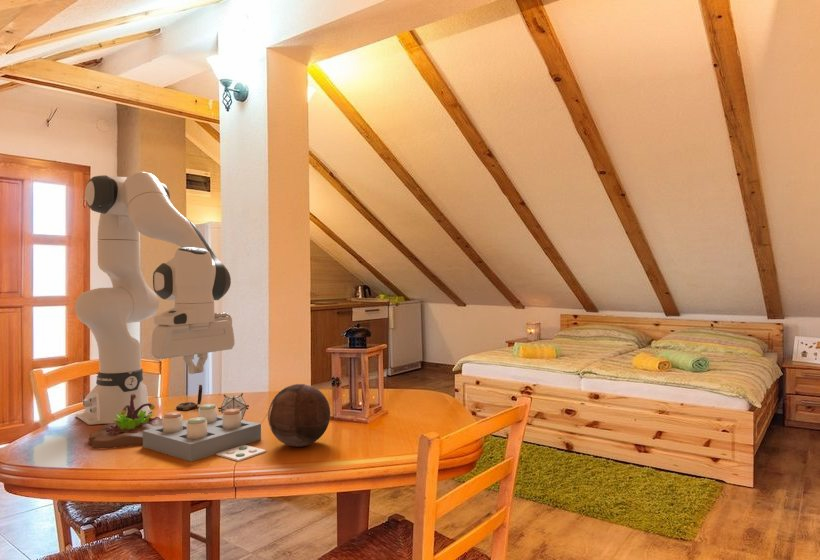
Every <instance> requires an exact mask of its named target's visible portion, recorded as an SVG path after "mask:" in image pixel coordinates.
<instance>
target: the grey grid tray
mask: <svg viewBox="0 0 820 560" xmlns="http://www.w3.org/2000/svg"><path fill="white" fill-rule="evenodd" d="M197 417H198V416H197ZM197 417H195V418H197ZM189 419H190V418H188V419H185V420H184V419H183V430H182V431H178V432H174V433H170V434H167V433H164V432H163V426H160V427H156V428H152V429H148V430H144V431H143V445H142V448H145V449H149V450H151V451H154V452H158V453H161V454H165V455H167V454H168V456H171V457H174V458H177V459H180V458H181V459H180V460H184V461H188V462H195V461H198V460H201V459H204V458H206V457H207V458H208V457H210V456H213V455H217V453H220V452H223V451H226V450H229V449H232V448H236V447H239V446H242V445H248V444H252V443H254V442H258V441H261V440H262V424H261V423H259V422H253V421H249V420H244V419H242V420H241V422H242V427H239V428H236V429H232V430H227V429H223V426H222V414H217V421H216V422H212V423H208V424H207V437H204V438H201V439H197V440H194V441H193V440H189V439H187V424H186V423H187V422H188V420H189Z"/></svg>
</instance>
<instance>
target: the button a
mask: <svg viewBox="0 0 820 560" xmlns="http://www.w3.org/2000/svg"><path fill="white" fill-rule="evenodd" d="M162 419H163V432H164V433H167V434H170V433H174V432H178V431H182V430H183V421H184V417H183V414H182V412H181V411H171V412H166V413H164V414H163V416H162Z"/></svg>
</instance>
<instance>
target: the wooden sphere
mask: <svg viewBox="0 0 820 560" xmlns="http://www.w3.org/2000/svg"><path fill="white" fill-rule="evenodd" d="M267 420H268V426H269V428H270V430H271V432H272V435H274V437H275V438H276V439H277V440H278V441H280V442H281V443H282V444H284V445H287V446H290V447H294V448H295V447H296V448H298V447H299V448H300V447H305V446H309V445H312V444H313V443H315V442H317V441H318V440H320V439H321V437H322V436H323V435H324V434H325V433H326V431H327V429H328V427H329V424H330V420H331V407H330V405H329V401H328V400H327V397H326V396H325V395H324V393H323V392H322V391H320V389H318V388H316V387H315V386H312V385H310V384H305V383H296V384H292V385H291V384H290V385H289V386H286V387H283V389H281V390H280V391H279V392H278V393H277V394H276V395H275V396H274V397H273V399H272V400H271V402H270V405H269V408H268V413H267Z"/></svg>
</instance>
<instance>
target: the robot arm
mask: <svg viewBox="0 0 820 560" xmlns="http://www.w3.org/2000/svg"><path fill="white" fill-rule="evenodd" d="M84 191H85V192H84V195H85V196H84V197H85V200H86V201H85V202H86V205H87V206H88V208H89V209H90V210H91V211H92V212H95V213H99V220H98V224H97V225H98V226H97V266H98V267H99V269H100V270H101V271H102V272H103V273H106V275H107V276H108V277H109V279H110V281H111V283H112V285H111V286H112V287H97V288H93V289H90V290H87V291H84V292H82V293H80V294H79V295H78V297H77V298H76V300H75V305H74V312H75V315H76V317H77V319H78V320H79V321H80V322H81V324H84V325H85V326H86V327H87V328H88V329H89V330H90V331H91V333H92V335H93V336H94V338H95V341H96V345H97V348H98V365H99V369H98V370H99V371H98V372H96V382H95V383H96V385H95V386H94V387H93V388H92V390H91V391H90V392H89V393H88V394H86V396H85V398H84V399H83V400H82V407H83V408H84V410H81V411H78V412H76V414H75V417H76V418H78V419H79V420H81V421H82V422H84V423H85V424H87V425H88V426H91V425H101V424H103V425H104V424H105V425H108V424H111V423H115V422H114V421H113V420H112V419H115V420H119V419H118V418H117V417H116V416H117V414H121V410H122V409H123V408H124V407H125V406H126V405H129V406H130V401H131V399H130V397H131V395H132V394H135V395H136V399H134V400H133V401H134V407H135V410H136V409H138V408H139V407H140V406H141V405H143V404H147V403H149V398H148V396H149V395H148V389H147V385H146V384H144V383H143V381H144V372H143V371H144V370H143V368H142V350H141V349H142V348H141V347H142V346H141V343H140V342H139V340H138V339H137V338H135V337H133V336H131V334H130V332H129V330H128V328H127V324H133V323H138V322H139V323H140V322H143V321H146V320H148V319H151V318H153V322H154V325H156V326H155V327H154V328H153V331H152V335H151V355H152V356H153V357H154V358H155V359H159V360H165V359H166V360H167V359H172V358H180V357H183V361H184V363H185V364H186V366H187V367H188V368H187V369H188V370H187V371H188V374H189V375H194V374H199V373H200V374H201V373H204V371H205V370H204V365H205V364H206V361H208V357H209V356H208V353H214V352H215V353H216V352H221V351H227V350H228V351H229V350H233V348H234V347H235V344H236V343H235V335H234V334H235V333H234V329H233V318H232V316H231V315H229V314H228V313H227V312H220V313H218V312H217V313H216V312H215V301H219V300H221V299H222V298H223V297H224V296H225V295H226V294H227V293H228V291H229V290H230V288H231V283H232V279H231V275H230V272H229V270H228V268H227V267H226V266H225V265H224V264H223V262H221V261H220V259H218V257H217V256H216V254H215V253H214V251H213V250H212V249H211V247H210V245H209V244H208V243H207V241H206V239H205V238H204V237H203V235H202V233H201V232H200V230H199V229H198V227H197V226H196V225H195V224H194V223H193V222H192V221H191V220H190V219H188V218H186V217H185V216H184V215H183V214H182V213H181V212H179V211H178V209H177V208H176V207H175V206H174V204H173V203H172V201H171V194H170V190H169V189H168V187H167V185H166V184H165V183H163V182H161V181H160V180H159V179H158V178H157V176H155V175H154V174H152V173H150V172H147V171H137V172H134V173H131V174H130V175H128V176H108V175H106V174H105V175H104V174H103V175H96V176H93V177H91V178H90V179H89V180H87V183H86V187H85V190H84ZM140 234H142V235H143V236H145V237H147V238H149V239H150V238H151V239H154V240H159V241H163V242H167V243H171V244H173V245H176V246H178V247H179V248H177V249H175V252H174V256H173V257H172V258H171V259H169V261H166V262H163V263H161V264H160V265H158V266H157V267H156V268H155V270H154V271H153V274H152V287H153V290H152V288H151V287H150V286H149V285H148V284H147V282H146V279H145V277H144V275H143V272H142V266H141V258H140V257H141V254H140V252H141V251H140ZM158 297H159V298H161V299H162V300H166V301H174V307H173V308H171V309H169V310H166V311H163V312H161V313H159V314H157V312H158V310H159V307H160V300H159V298H158ZM195 355H197V358H198V360H197V363H196V364H195V363H194V361H193V360H195ZM126 410H127V408H126ZM141 410H143V411H146V414H145V415H146V416H145V417H144V418H146V417H147V416H148V415H149V414H151V413H152V412H153V410H151V409H150V408H149V406H144V407H143V408H142V409H141ZM141 410H140V411H141ZM126 414H127V411H126ZM126 414H124V415H125V416H126Z"/></svg>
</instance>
